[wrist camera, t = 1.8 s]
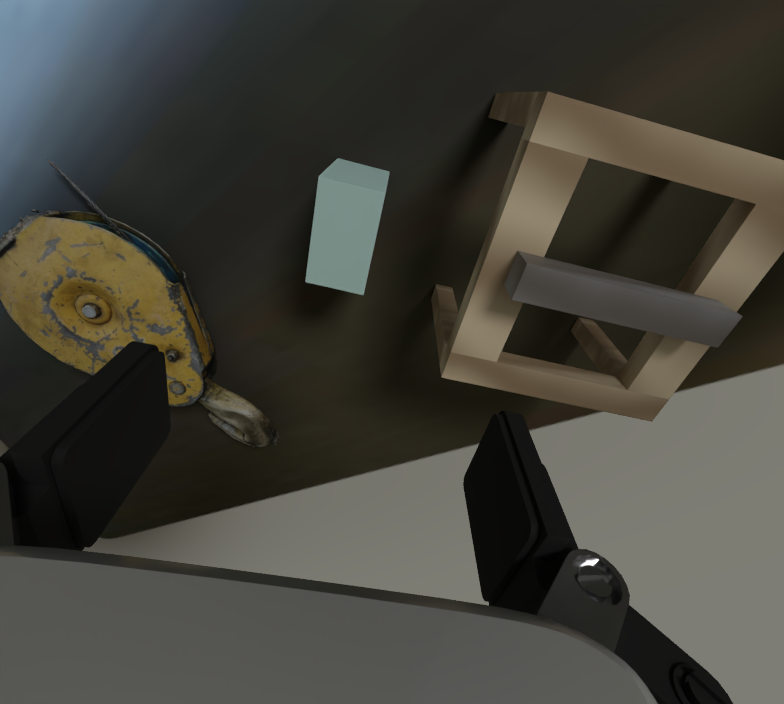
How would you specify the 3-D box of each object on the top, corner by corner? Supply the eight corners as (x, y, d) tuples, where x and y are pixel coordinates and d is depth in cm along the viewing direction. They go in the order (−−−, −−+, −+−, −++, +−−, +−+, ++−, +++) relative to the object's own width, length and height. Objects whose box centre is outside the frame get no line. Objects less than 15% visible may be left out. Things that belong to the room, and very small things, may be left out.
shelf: (495, 93, 28) (562, 91, 16) (691, 149, 30) (883, 184, 18) (431, 298, 36) (444, 396, 25) (585, 334, 38) (667, 442, 26)
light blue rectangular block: (337, 158, 30) (318, 176, 24) (389, 171, 31) (385, 193, 24) (325, 244, 34) (305, 282, 27) (371, 256, 34) (363, 295, 28)
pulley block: (209, 500, 42) (-100, 271, 30) (224, 461, 48) (-33, 252, 35) (316, 432, 40) (29, 149, 27) (319, 399, 45) (80, 148, 32)
